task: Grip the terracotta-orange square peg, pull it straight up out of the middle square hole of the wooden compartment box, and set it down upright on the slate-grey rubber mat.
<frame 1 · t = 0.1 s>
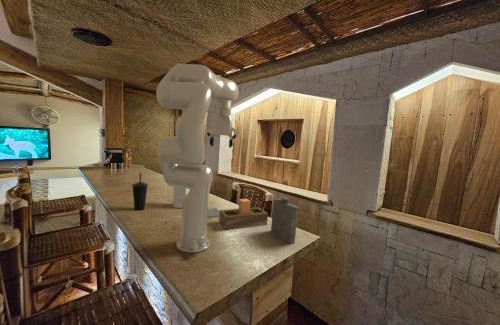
hand: (221, 146, 114), 37 cm above the counter, tool pointing down, fingers open, 9 cm apart
supplement box: (181, 206, 129), on the counter
flask: (281, 237, 99), on the counter
mat: (209, 213, 121), on the counter
peg: (243, 219, 110), point 2 cm above the counter, touching wooden compartment box
wooden compartment box: (243, 223, 111), on the counter
drinking cup: (139, 209, 119), on the counter
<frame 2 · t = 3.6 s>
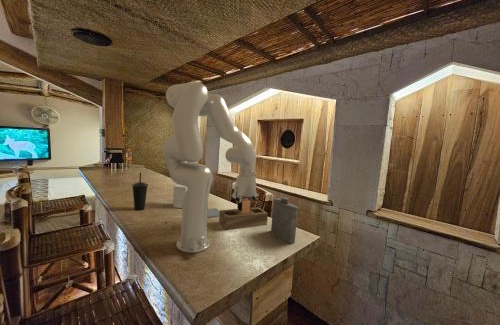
hand: (244, 209, 110), 7 cm above the counter, tool pointing down, fingers closed on peg, 4 cm apart
peg: (243, 219, 110), point 2 cm above the counter, touching gripper, wooden compartment box
everything else where it was.
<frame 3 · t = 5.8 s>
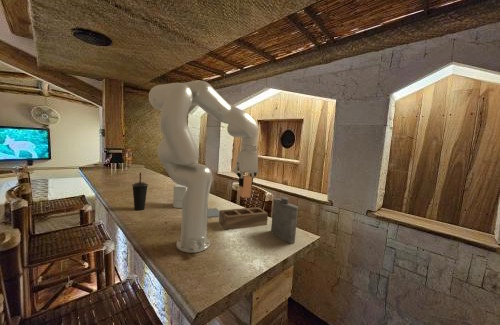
hand: (245, 185, 108), 19 cm above the counter, tool pointing down, fingers closed on peg, 4 cm apart
peg: (244, 196, 109), point 14 cm above the counter, touching gripper
everything else where it was.
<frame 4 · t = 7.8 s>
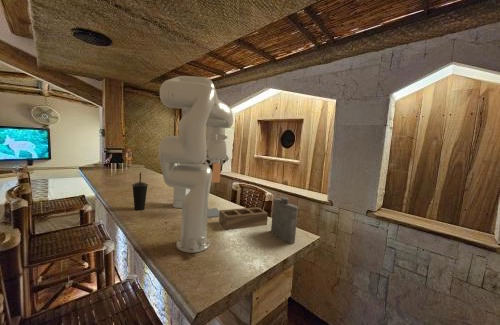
hand: (215, 171, 117), 23 cm above the counter, tool pointing down, fingers closed on peg, 4 cm apart
peg: (214, 181, 118), point 18 cm above the counter, touching gripper
everything else where it was.
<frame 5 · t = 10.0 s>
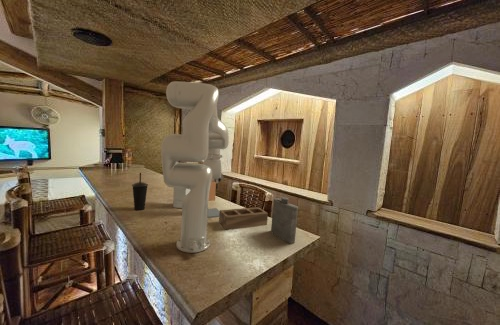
hand: (210, 190, 120), 13 cm above the counter, tool pointing down, fingers closed on peg, 4 cm apart
peg: (210, 199, 120), point 8 cm above the counter, touching gripper
everything else where it was.
when the fingers open (7 cm above the counter, at t = 11.9 s): peg drops 1 cm, resting on mat.
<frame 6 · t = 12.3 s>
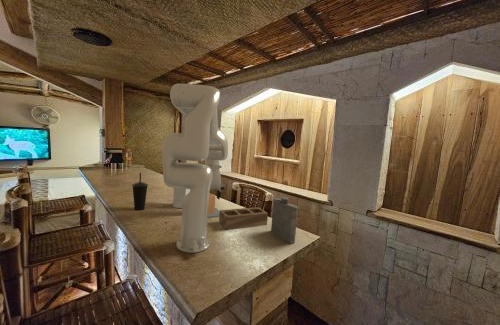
hand: (210, 199, 120), 8 cm above the counter, tool pointing down, fingers open, 8 cm apart
peg: (209, 212, 121), point 1 cm above the counter, touching mat
everything else where it was.
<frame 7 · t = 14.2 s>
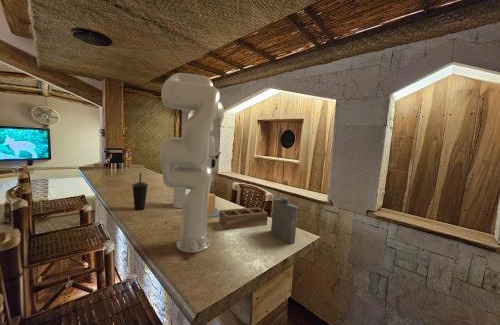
hand: (203, 167, 114), 26 cm above the counter, tool pointing down, fingers open, 9 cm apart
nothing on the counter moved.
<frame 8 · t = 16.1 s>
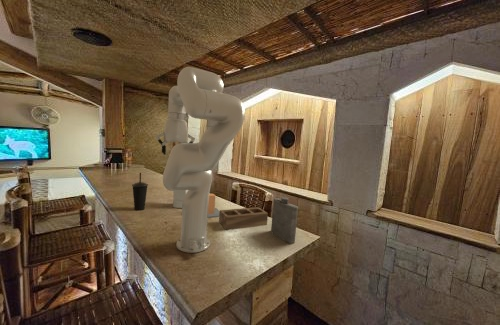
hand: (175, 154, 103), 32 cm above the counter, tool pointing down, fingers open, 9 cm apart
nothing on the counter moved.
at the end: peg inside the target area on the mat (0.0 cm from its centre), point 0.6 cm above the mat's base; peg tilted 0°; the gripper is holding nothing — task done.
